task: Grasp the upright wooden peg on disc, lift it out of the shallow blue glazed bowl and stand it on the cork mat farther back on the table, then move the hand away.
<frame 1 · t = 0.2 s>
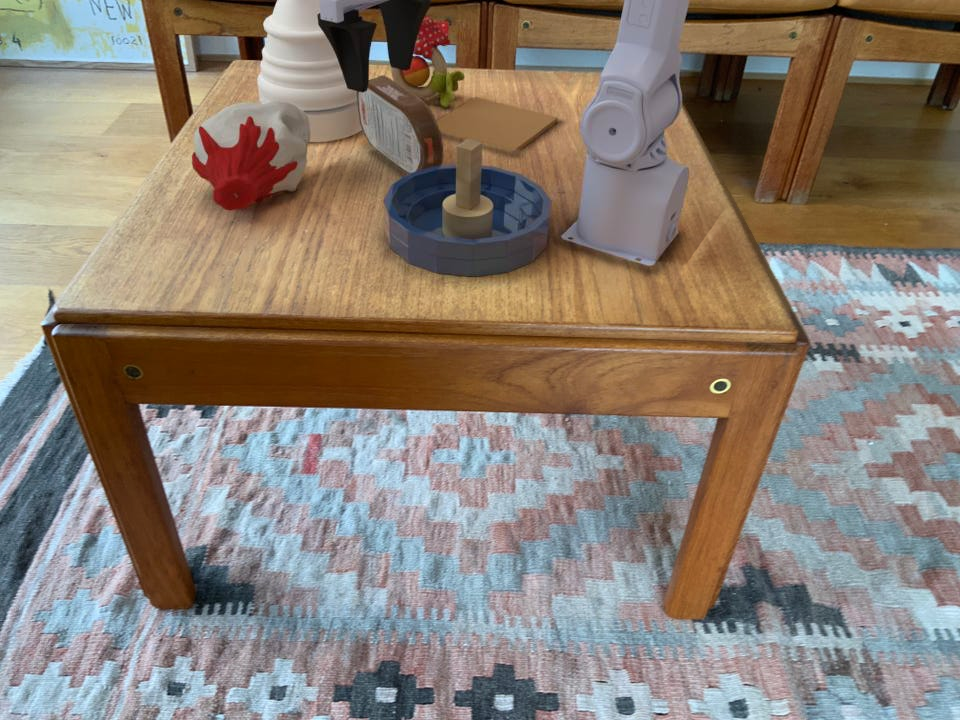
hand: (379, 78, 81), 10 cm above the table, tool pointing down, fingers open, 7 cm apart
wooden peg on disc: (467, 231, 76), point 1 cm above the table, touching bowl
tin: (398, 163, 89), on the table
honey pot: (316, 122, 97), on the table
bowl: (466, 237, 76), on the table
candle: (254, 197, 81), on the table
bird rattle: (427, 103, 103), on the table
mat: (493, 126, 97), on the table
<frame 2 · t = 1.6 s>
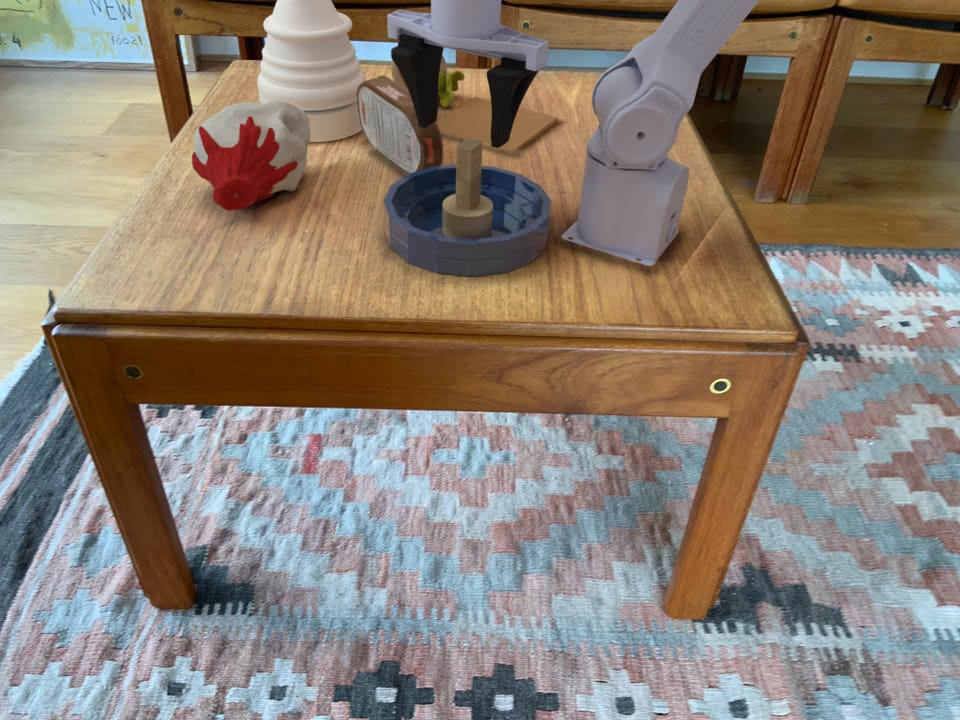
hand: (463, 133, 71), 10 cm above the table, tool pointing down, fingers open, 7 cm apart
nothing on the table moved.
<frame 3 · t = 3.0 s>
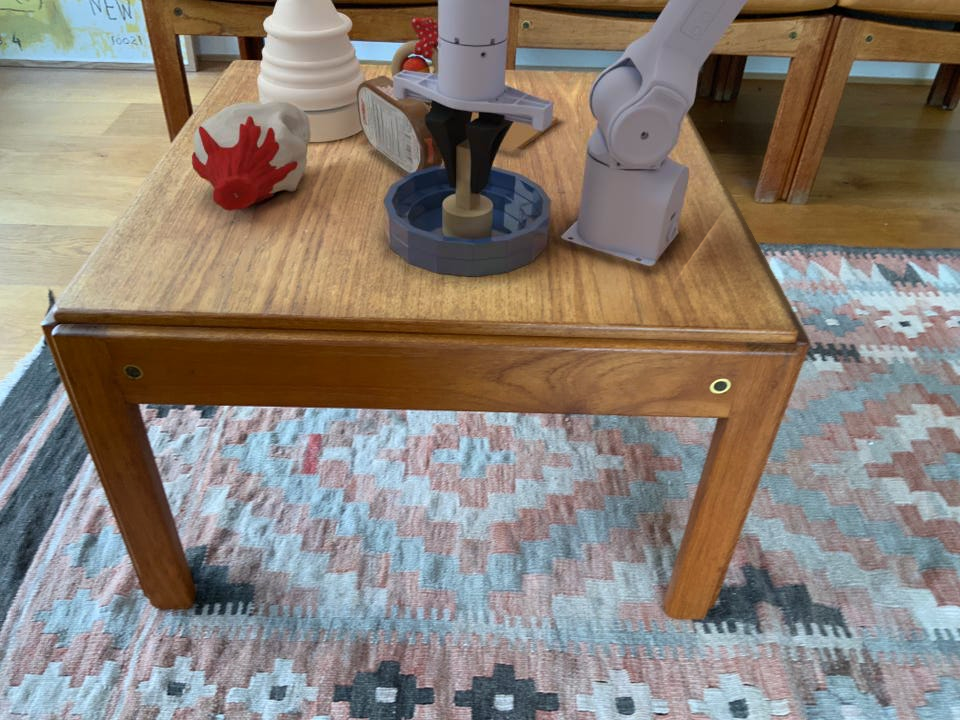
hand: (468, 186, 73), 5 cm above the table, tool pointing down, fingers closed on wooden peg on disc
wooden peg on disc: (467, 231, 76), point 1 cm above the table, touching bowl, gripper
everything else where it was.
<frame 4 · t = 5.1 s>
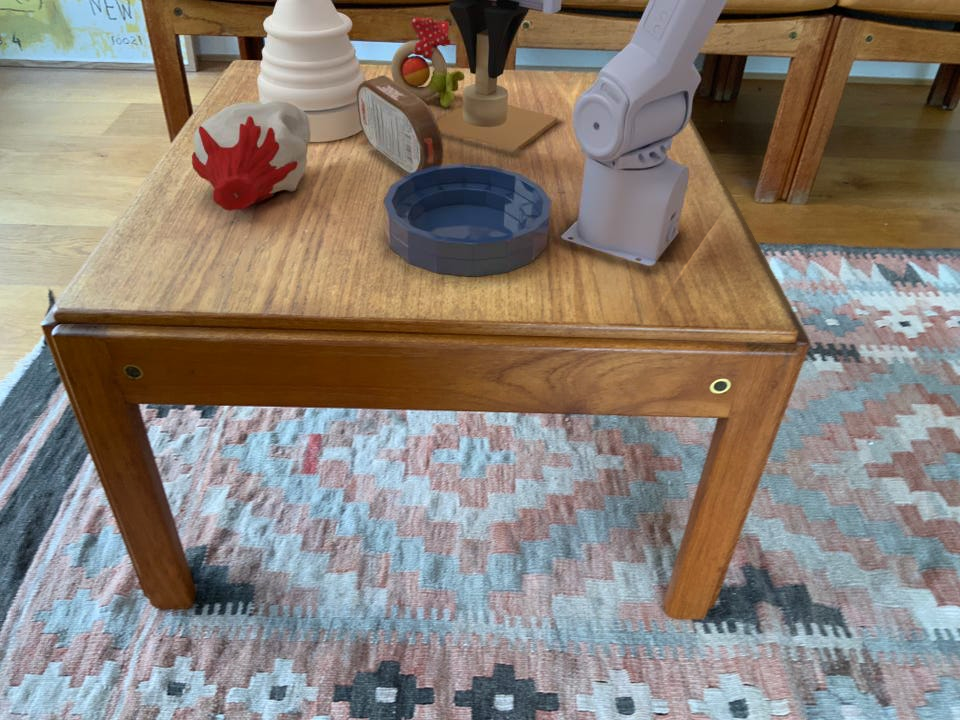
hand: (486, 73, 82), 10 cm above the table, tool pointing down, fingers closed on wooden peg on disc
wooden peg on disc: (484, 118, 85), point 6 cm above the table, touching gripper
everything else where it was.
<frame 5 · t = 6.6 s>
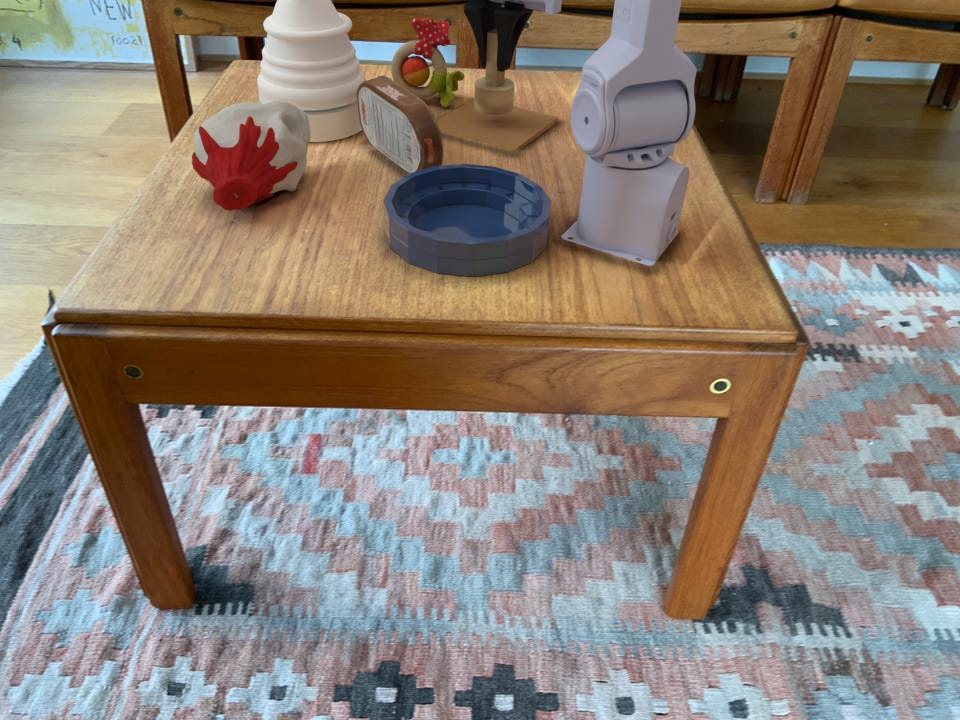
hand: (495, 67, 93), 7 cm above the table, tool pointing down, fingers closed on wooden peg on disc
wooden peg on disc: (493, 107, 96), point 2 cm above the table, touching gripper
everything else where it was.
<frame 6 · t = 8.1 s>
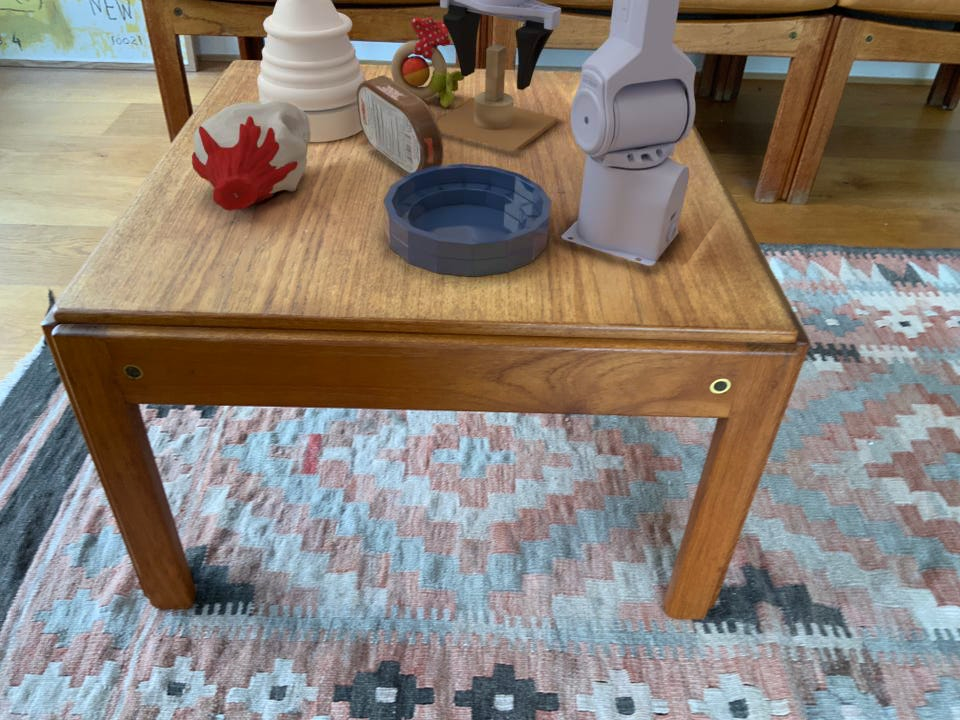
hand: (495, 80, 94), 6 cm above the table, tool pointing down, fingers open, 7 cm apart
wooden peg on disc: (492, 122, 97), point 1 cm above the table, touching mat
everything else where it was.
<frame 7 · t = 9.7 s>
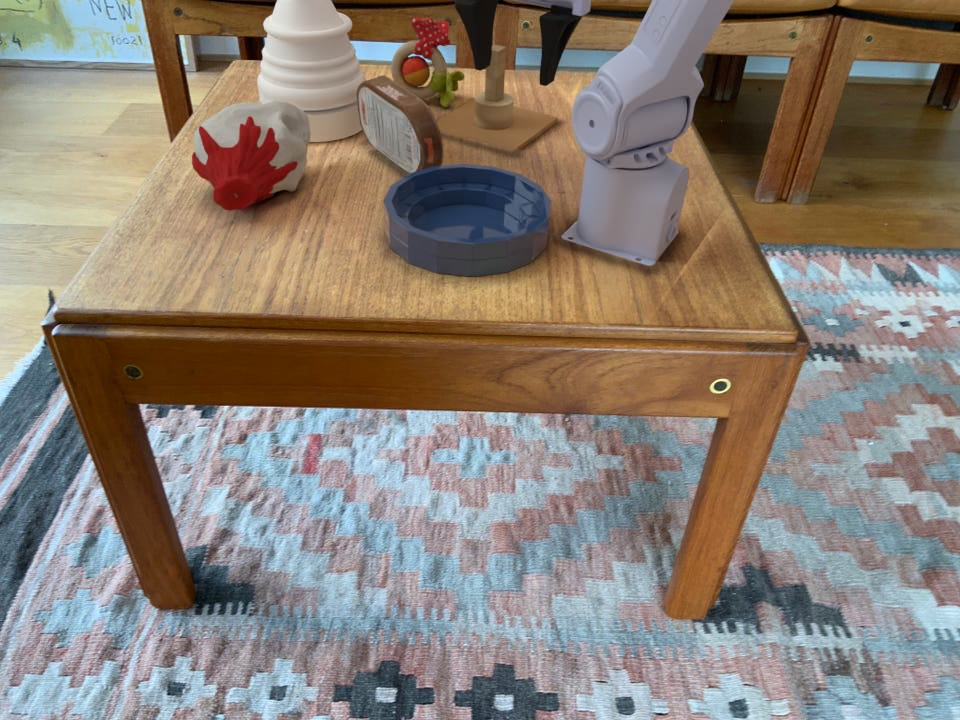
hand: (514, 75, 82), 10 cm above the table, tool pointing down, fingers open, 7 cm apart
nothing on the table moved.
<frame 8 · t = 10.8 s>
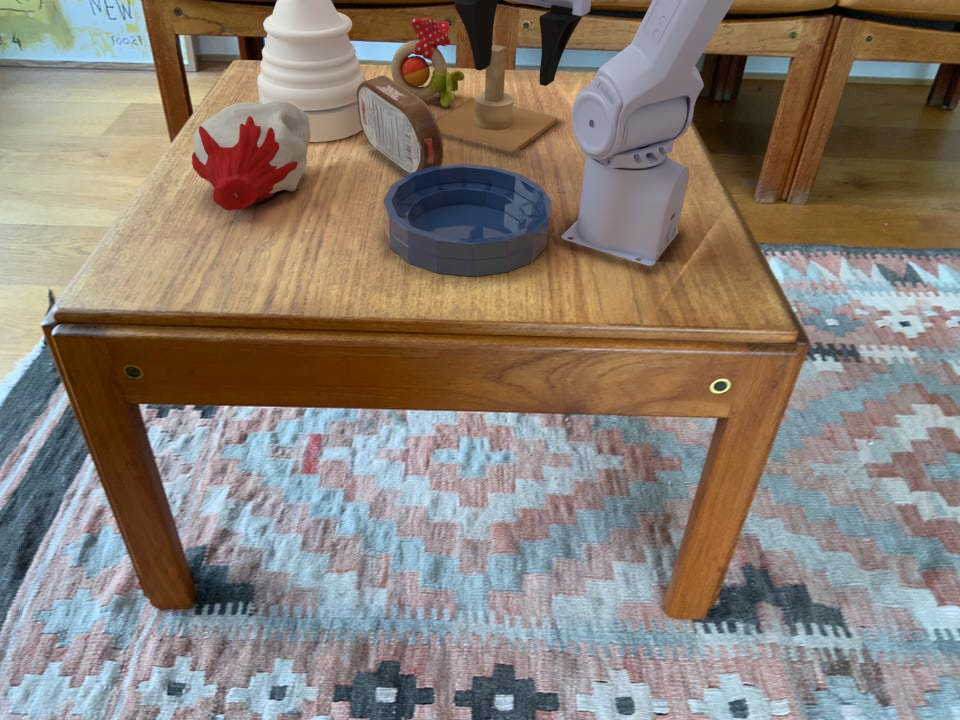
hand: (514, 75, 82), 10 cm above the table, tool pointing down, fingers open, 7 cm apart
nothing on the table moved.
at the end: wooden peg on disc inside the target area on the mat (0.1 cm from its centre), point 0.6 cm above the mat's base; wooden peg on disc touching mat; wooden peg on disc tilted 0° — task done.
